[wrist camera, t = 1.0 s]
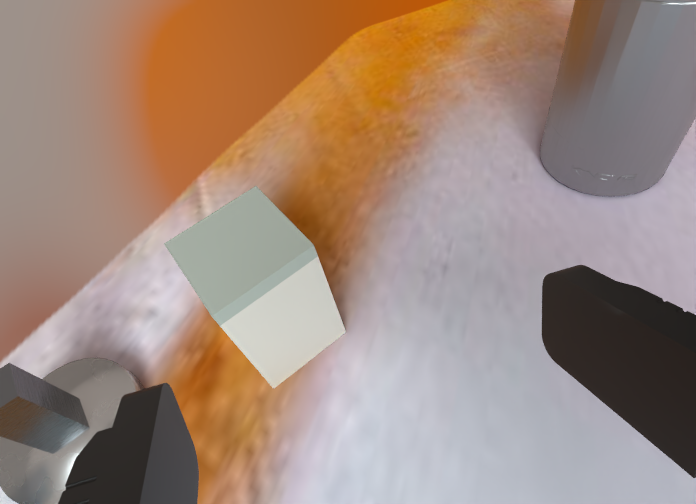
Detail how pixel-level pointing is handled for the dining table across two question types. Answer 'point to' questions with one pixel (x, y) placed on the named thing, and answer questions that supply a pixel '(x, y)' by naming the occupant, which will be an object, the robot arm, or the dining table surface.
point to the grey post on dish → (54, 423)
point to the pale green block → (260, 284)
